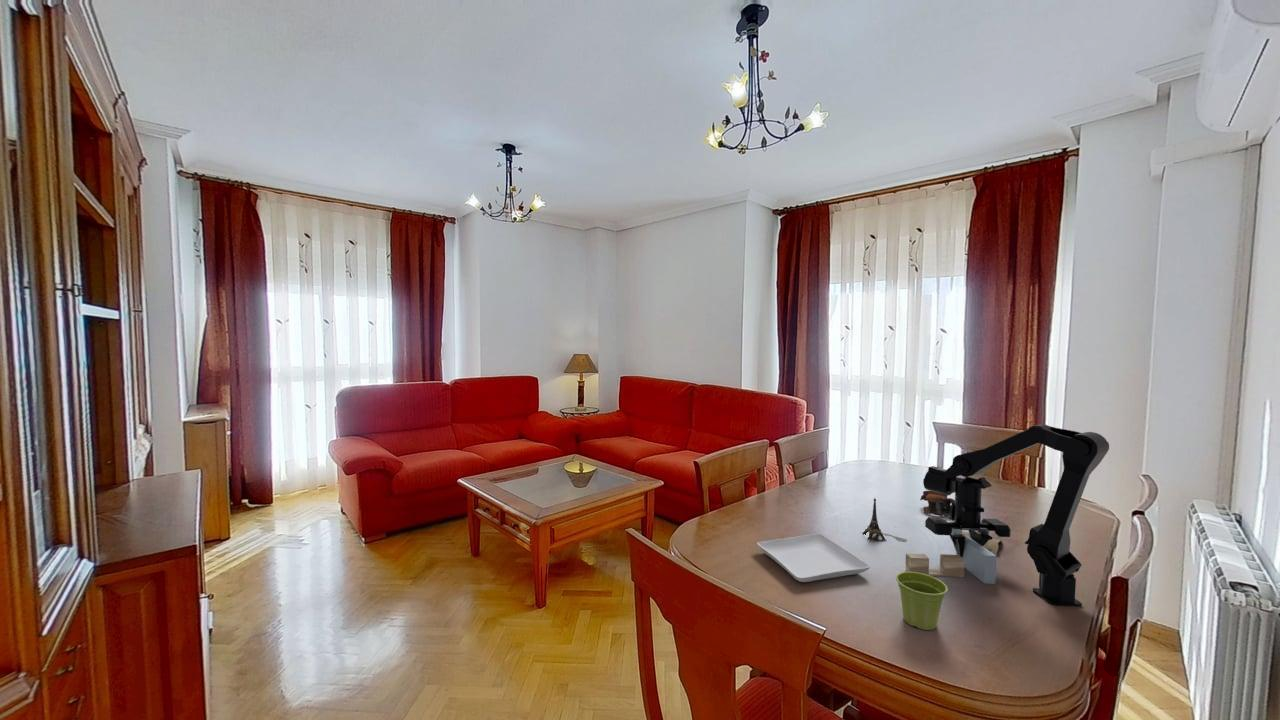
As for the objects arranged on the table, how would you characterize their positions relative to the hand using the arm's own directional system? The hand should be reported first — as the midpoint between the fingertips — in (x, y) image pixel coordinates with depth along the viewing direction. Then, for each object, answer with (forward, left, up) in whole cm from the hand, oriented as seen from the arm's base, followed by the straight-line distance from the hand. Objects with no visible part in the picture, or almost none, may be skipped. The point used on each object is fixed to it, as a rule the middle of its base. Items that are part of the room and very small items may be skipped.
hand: (965, 558), depth 129 cm
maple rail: (-6, +11, -2) cm, 13 cm away
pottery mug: (+39, -13, -2) cm, 41 cm away
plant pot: (-28, +25, -2) cm, 38 cm away
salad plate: (-3, +41, -2) cm, 41 cm away
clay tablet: (+13, -11, -2) cm, 17 cm away
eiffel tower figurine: (+16, +17, -2) cm, 23 cm away
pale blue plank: (-4, 0, -2) cm, 4 cm away
